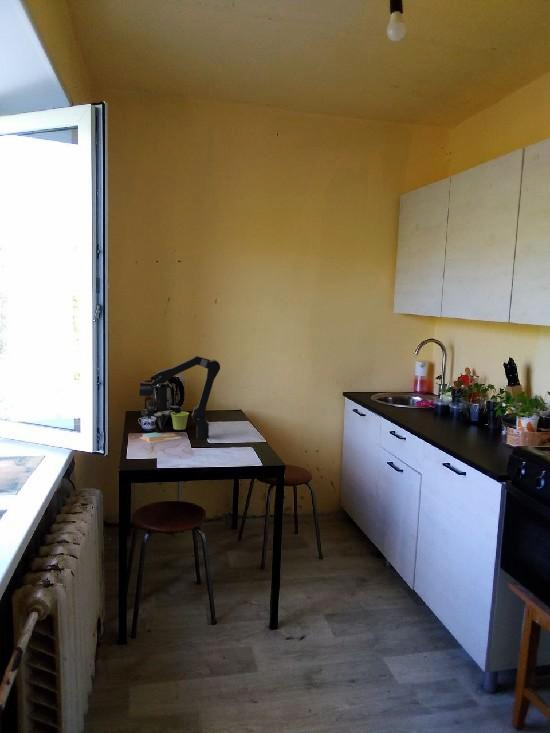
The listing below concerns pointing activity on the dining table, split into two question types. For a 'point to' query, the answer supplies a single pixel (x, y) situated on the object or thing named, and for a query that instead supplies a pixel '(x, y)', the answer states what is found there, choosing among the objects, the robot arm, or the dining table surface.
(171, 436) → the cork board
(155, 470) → the dining table surface
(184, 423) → the plant pot
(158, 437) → the tile
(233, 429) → the dining table surface
